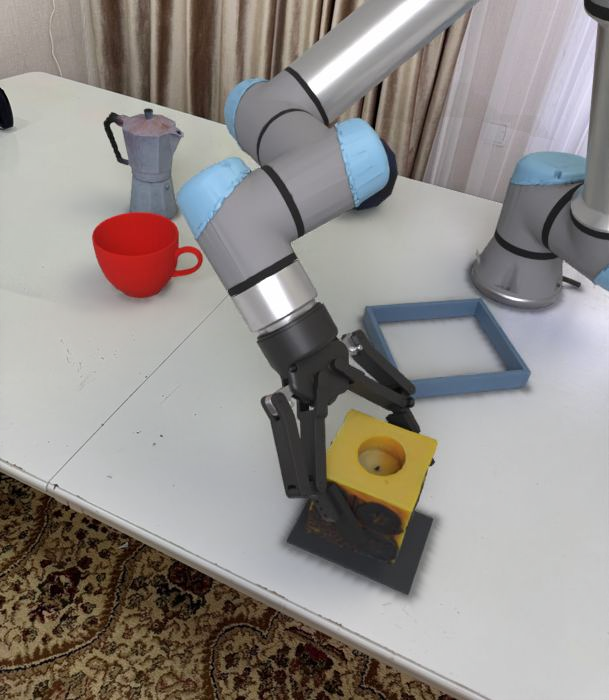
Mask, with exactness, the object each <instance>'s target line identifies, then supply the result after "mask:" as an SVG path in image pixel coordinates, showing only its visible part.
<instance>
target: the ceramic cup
mask: <svg viewBox="0 0 609 700" xmlns="http://www.w3.org/2000/svg"><path fill="white" fill-rule="evenodd" d="M179 234H180V233H179V229H178V226H177V225H176V223H175V222H173V221H172V220H171V219H168V218H166V217H163V216H161V215H157V214H153V213H145V212H134V213H130V212H126V213H121V214H116V215H113V216H111V217H109V218H106V219H104V220H103V221H101V222H100V223H98V224H97V225H96V226H95V228H94V229H93V231H92V234H91V241H92V247H93V251H94V254H95V258H96V260H97V264H98V266H99V268H100V270H101V272H102V274H103V276H104V277H105V279H106V280H107V281H108V282H109V283H110V284H111V285H112V286H113V287H115V288H116V289H117V290H118V291H120V292H122V293H123V294H125V295H126V296H128V297H130V298H135V299H146V298H151V297H153V296H156V295H157V294H159V293H160V292H161V291H162V290H163V288H165V287H166V286H167V285H168V283H169V282H170V281H171V280H172V278H176V277H177V278H178V277H184V276H189V275H192V274H194V273H196V272H197V271H198V270H199V269H200V268H201V267H202V265H203V262H204V261H203V260H204V257H203V252H202V251H200V249H199V248H198V247H196V246H192V245H185V246H182V247H180V235H179ZM186 253H188V254H193V255H194V256H195V257H196V259H197V263H196V264H194V266H192V267H190V268H185V269H177V266H178V261H179V257H180V256H181V255H182V254H186Z"/></svg>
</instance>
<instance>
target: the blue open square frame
mask: <svg viewBox="0 0 609 700" xmlns="http://www.w3.org/2000/svg"><path fill="white" fill-rule="evenodd" d="M460 317H475V318H476V321H477V322H478V324H479V325H480V327H481V329H482V330H483V332H484V334H485V335H486V336H487V338H488V340H489V342H490V344H491V345H492V346H493V347H494V349H495V351H496V352H497V354H498V355H499V357H500V358H501V360H502V362H503V363H504V365H505V367H506V368H507V370H502V371H492V372H491V371H489V372H481V373H469V374H459V375H448V376H438V377H427V378H418V379H408V380H409V381H410V382H411V383H412V384H413V385H414V386H415V388H416V391H415V394H413V395H411V396H410V397H413V398H414V399H422V398H433V397H443V396H454V395H462V394H463V395H464V394H473V393H481V392H482V393H483V392H491V391H503V390H511V389H512V390H513V389H522V388H523V389H524V388H526V386H527V384H528V382H529V379H530V376H531V374H532V371H531V370H530V368H529V366H528V365H527V364H526V362H525V361H524V360H523V358H522V356H521V355H520V353H519V351H517V349H516V348H515V346H514V344H513V343H512V341H511V340H510V339H509V337H508V336H507V334H506V332H505V331H504V329H503V327H502V326H501V325H500V324H499V322H498V320H497V319H496V317H495V316H494V314H493V313H492V312H491V310H490V308H489V307H488V305H487V303H485V301H484V299H483V298H482V297H476V298H462V299H448V300H433V301H417V302H406V303H405V302H404V303H403V302H402V303H391V304H390V303H389V304H376V305H375V304H374V305H365V307H364V312H363V319H362V322H363V324H364V327H365V329H366V332H367V334H368V336H369V339H370V341H371V343H372V346H373V347H374V348H375V349H376V350H377V351H378V352H379V353H380V354H381V355H382V356H383V357H384V358H385V359H387V360H388V361H389V362H390V363H391V364H392V365H393V366H394V367H395V368H396V369H397V370H398V371H399V372H400V370H399V367H398V365H397V362H396V361H395V358H394V356H393V354H392V352H391V350H390V346H389V345H388V342H387V341H386V338H385V335H384V334H383V331H382V329H381V326H380V325H379V323H394V322H395V323H396V322H407V321H408V322H409V321H421V320H432V319H445V318H446V319H447V318H460Z"/></svg>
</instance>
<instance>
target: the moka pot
mask: <svg viewBox="0 0 609 700" xmlns="http://www.w3.org/2000/svg"><path fill="white" fill-rule="evenodd" d="M153 112H154V109H152V108H150V107H149V108H148V107H146V108H144V109H143V113H139V114H135V115H132V116H128V115H126V114H118V113H116V112H113V111H111V112H110V114H108V116H106V118H105V120H103V123H102V125H103V127H104V128H103V129H104V131H105V134H106V137H107V138H108V141H109V144H110V146H111V148H112V149H113V154H114V155H115V158H116V161H117V163H119V164H121V165H124V166H129V167H130V168H131V174H132V176H131V185H130V186H131V188H130V200H129V201H130V202H129V203H130V204H129V213H134V212H145V213H153V214H157V215H161V216H163V217H166V218H168V219H170V220H171V219H173V217H175V216H176V215H177V207H178V205H177V201H176V200H177V198H176V196H175V194H176V193H175V188H174V182H173V177H172V172H173V171H172V170H173V169H172V168H173V161H174V160H173V159H174V155H175V153H176V150H177V148H178V146H179V144H180V142H181V140H182V139H183V138H185V134H184V133H185V132H184V131H182V130H181V129H180V128H179V127H177V126H176V125H177V123H176V121H175V120H173V119H171V118H169V117H166V116H164V115H163V114H157V113H154V114H153ZM113 123H114V124H115V125H117V126H118V127H120V128H121V132H122V136H123V140H124V145H125V150H126V155H127V159H126V158H123V157H122V154H121V152H120V150H119V146H118V144H117V142H116V141H117V140H116V138H115V136H114V132H113V130H112V128H111V124H113Z"/></svg>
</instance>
